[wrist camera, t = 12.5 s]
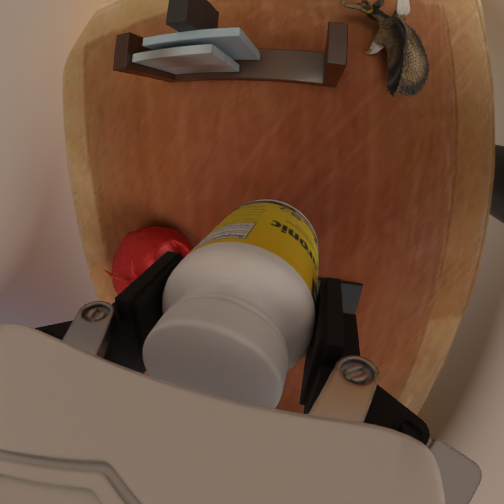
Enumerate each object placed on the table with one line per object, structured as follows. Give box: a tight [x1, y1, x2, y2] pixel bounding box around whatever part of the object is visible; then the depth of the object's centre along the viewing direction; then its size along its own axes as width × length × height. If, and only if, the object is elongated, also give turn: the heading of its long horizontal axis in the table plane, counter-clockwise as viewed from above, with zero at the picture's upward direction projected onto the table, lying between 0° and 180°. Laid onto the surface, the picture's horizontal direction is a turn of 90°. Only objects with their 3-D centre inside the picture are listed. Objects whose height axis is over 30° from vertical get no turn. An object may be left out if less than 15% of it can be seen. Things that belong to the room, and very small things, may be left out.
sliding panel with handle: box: [142, 0, 260, 60], centre depth 17 cm, size 7×4×10 cm, turn 86°
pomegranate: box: [103, 226, 194, 294], centre depth 29 cm, size 10×10×9 cm
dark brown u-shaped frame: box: [113, 22, 348, 87], centre depth 19 cm, size 16×3×10 cm, turn 86°
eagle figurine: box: [339, 0, 429, 97], centre depth 17 cm, size 8×7×9 cm
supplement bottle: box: [143, 199, 319, 409], centre depth 12 cm, size 5×5×10 cm
